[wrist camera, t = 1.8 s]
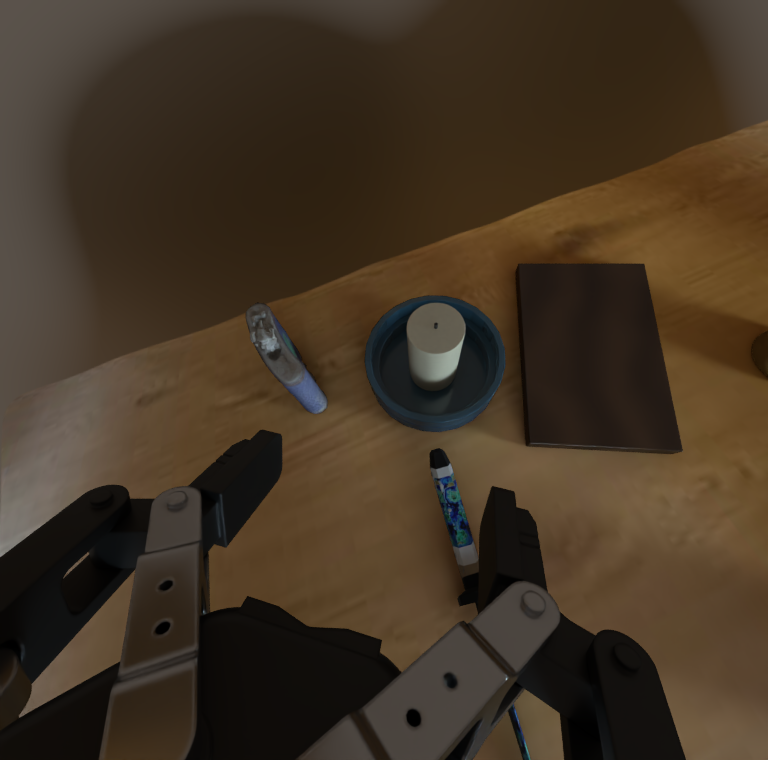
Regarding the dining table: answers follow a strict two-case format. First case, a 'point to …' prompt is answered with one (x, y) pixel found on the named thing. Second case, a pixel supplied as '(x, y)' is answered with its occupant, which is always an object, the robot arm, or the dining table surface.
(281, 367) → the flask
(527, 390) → the cutting board
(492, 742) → the dining table surface
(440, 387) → the candle
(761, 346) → the beer glass
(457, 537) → the knife
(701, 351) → the dining table surface
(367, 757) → the robot arm
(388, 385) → the bowl
